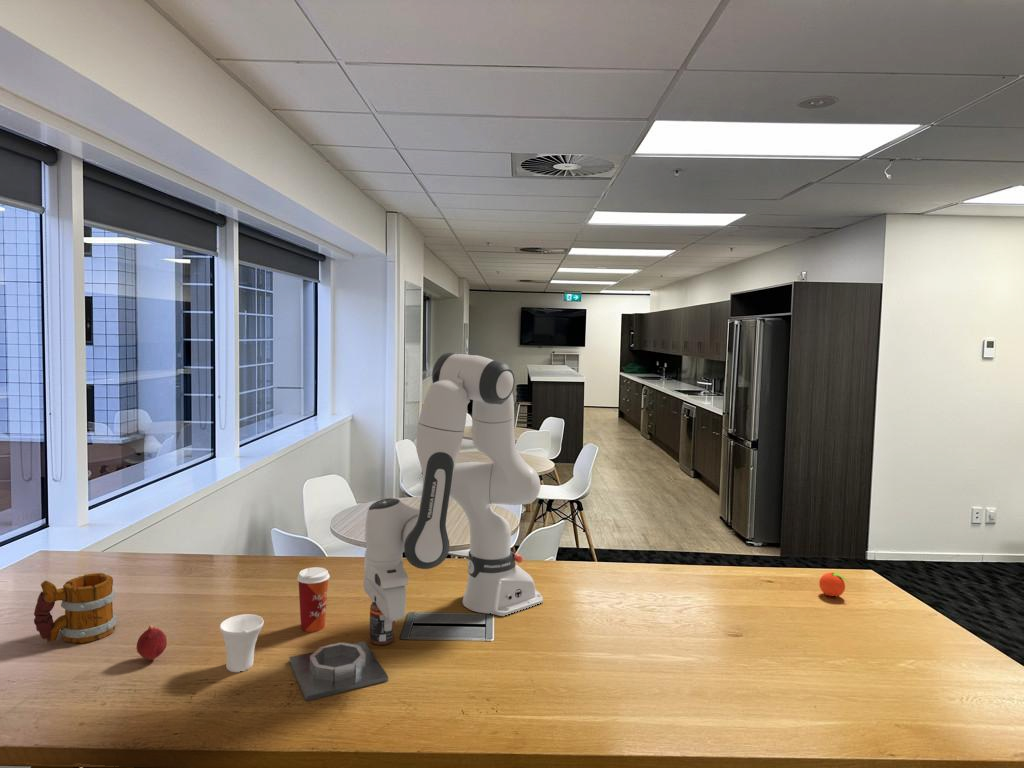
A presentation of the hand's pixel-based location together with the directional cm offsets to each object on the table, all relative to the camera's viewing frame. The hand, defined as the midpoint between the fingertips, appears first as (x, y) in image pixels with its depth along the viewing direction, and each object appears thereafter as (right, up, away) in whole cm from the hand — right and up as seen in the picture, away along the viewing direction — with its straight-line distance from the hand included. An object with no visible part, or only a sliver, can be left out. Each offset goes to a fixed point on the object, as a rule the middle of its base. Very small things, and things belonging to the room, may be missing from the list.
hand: (382, 623), depth 156 cm
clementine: (+126, -6, +37) cm, 132 cm away
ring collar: (-7, -5, -14) cm, 16 cm away
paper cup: (-18, -3, +6) cm, 20 cm away
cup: (-28, -5, -13) cm, 31 cm away
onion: (-48, -4, -12) cm, 50 cm away
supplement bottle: (0, -4, 0) cm, 4 cm away
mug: (-71, -2, -3) cm, 71 cm away
